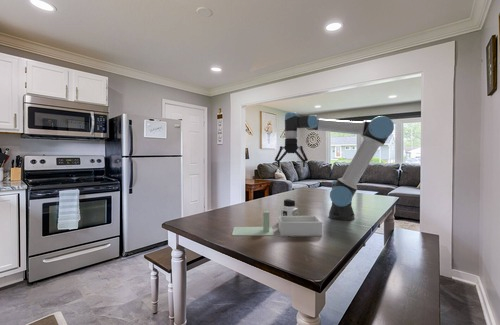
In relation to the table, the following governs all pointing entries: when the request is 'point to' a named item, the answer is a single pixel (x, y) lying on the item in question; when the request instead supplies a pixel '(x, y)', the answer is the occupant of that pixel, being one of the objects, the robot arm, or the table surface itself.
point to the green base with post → (255, 228)
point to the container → (289, 208)
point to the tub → (300, 226)
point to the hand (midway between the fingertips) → (291, 172)
